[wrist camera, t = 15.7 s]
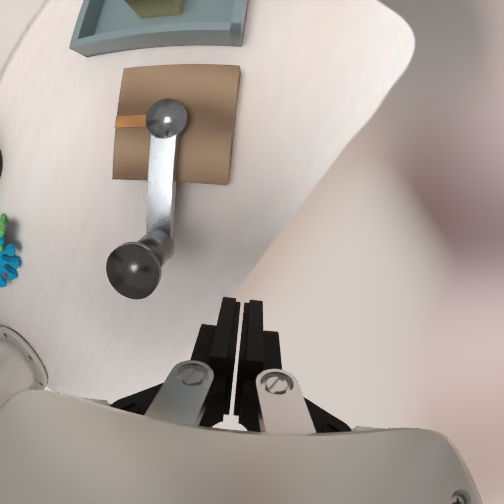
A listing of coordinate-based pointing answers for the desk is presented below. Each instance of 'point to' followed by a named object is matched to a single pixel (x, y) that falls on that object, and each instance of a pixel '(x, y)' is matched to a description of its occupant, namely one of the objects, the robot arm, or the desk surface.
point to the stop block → (156, 7)
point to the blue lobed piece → (9, 250)
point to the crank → (153, 206)
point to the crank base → (199, 127)
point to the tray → (157, 26)
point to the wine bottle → (0, 162)
